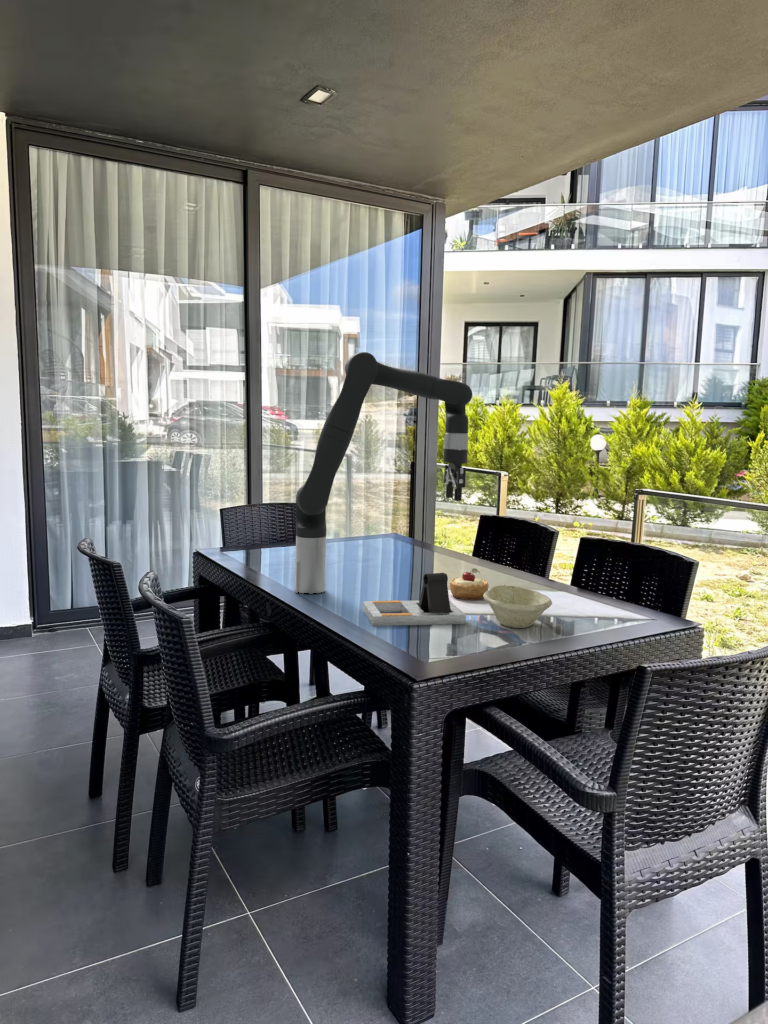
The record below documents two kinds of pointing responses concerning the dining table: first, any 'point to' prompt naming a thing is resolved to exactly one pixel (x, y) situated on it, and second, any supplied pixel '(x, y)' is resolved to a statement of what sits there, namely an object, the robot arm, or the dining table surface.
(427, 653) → the dining table surface
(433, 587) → the phone stand
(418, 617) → the white slotted tray
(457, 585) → the pastry
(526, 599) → the bowl
